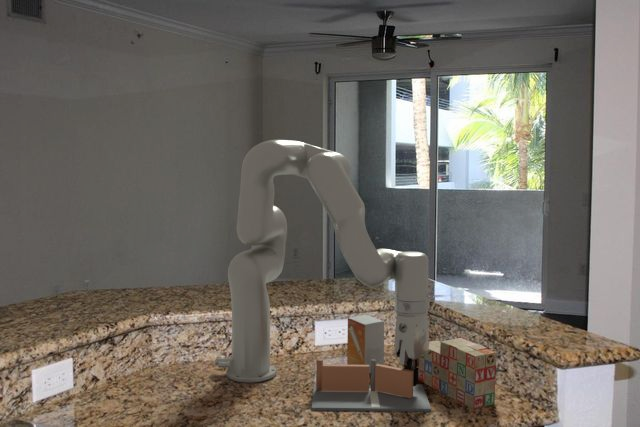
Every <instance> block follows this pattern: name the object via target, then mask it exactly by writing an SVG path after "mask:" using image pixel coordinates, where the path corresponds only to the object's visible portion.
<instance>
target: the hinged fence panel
mask: <svg viewBox="0 0 640 427" xmlns="http://www.w3.org/2000/svg"><path fill="white" fill-rule="evenodd" d="M370 384H371V391H379V392H384V393H389V394H393V395H398V396H402V397H407V398H412V397H413V371H412V370H407V369H403V368H402V367H401V368H400V367H396V366H391V365H385V364H384V365H381V364H377V365H376V360H374V359H372V360H371V373H370Z"/></svg>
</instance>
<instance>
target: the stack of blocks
mask: <svg viewBox="0 0 640 427" xmlns="http://www.w3.org/2000/svg"><path fill="white" fill-rule="evenodd" d="M417 368H419V369H418V381H420V382H422V383H424V384H425V385H427V386H428V385H429V387H431V388H432V389H434V390H436V391H438V392H440V393H442V394H444V395H446V396H448V397H449V398H452V399H453V400H455V401H457V402H459V403H460V404H463V405H464V406H467V407H468V408H470V409H472V410H477V409H480V408H484V407H488V406H492V405H495V404H496V403H495V400H496V376H497V352H496V351H495V350H492V349H489V348H487V347H486V346H483V345H481V344H478V343H476V342H473V341H470V340H467V339H464V338H462V337H458V338H453V339H447V340H441V341H439V340H431V341H430V340H429V349H428V351H427V352H425V353H424V354H423V355H421V356H420V359H419V367H417Z"/></svg>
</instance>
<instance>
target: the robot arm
mask: <svg viewBox="0 0 640 427" xmlns="http://www.w3.org/2000/svg"><path fill="white" fill-rule="evenodd" d="M351 169H352V168H351V164H350V162H349V160H348V159H347V157H346V156H345V155H343V154H342V153H339V152H337V151H333V150H329V149H325V148H324V147H322V148H321V147H319V146H315V145H312V144H309V143H306V142H302V141H300V140H299V141H298V140H290V139H271V140H265V141H262V142H260V143H258V144H256V145H254V146H253V147H252V148H250V150H249V151H248V152H247V153H246V155H245V156H244V158H243V161H242V164H241V170H240V172H241V173H240V186H239V187H240V189H239V197H238V207H237V210H238V211H237V220H236V234H237V238H238V239H239V241H241V243H242V244H244V245H247V246H251V248H250V249H247V250H244V251H241V252H239V253H237V254H236V255H235V256H234V257H233V258H232V259H231V261H230V262H229V265H228V267H227V278H228V279H227V280H228V285H229V290H230V299H231V300H230V301H231V345H232V346H231V352H232V355H231V356H228V357H225V358H224V357H215V358H214V359H215V361H214V363H215V366H218V368H227V369H226V372H225V373H226V374H225V376H226V377H227V378H228V379H229V380H232V381H235V382H239V383H259V382H260V383H261V382H264V381H268V380H271V379H272V378H274V377H275V376H276V375H277V368H276V367H275V366H274V365H273V364H271V312H270V311H271V310H270V309H271V305H270V297H269V293H268V290H267V284H268V283H271V282H273V281H275V280H276V279H277V278H278V277H279V276H280V274H282V271H283V268H284V264H285V256H286V244H287V243H286V242H287V238H288V236H287V235H288V223H287V218H286V216H285V214H284V212H283V210H281V209H280V208H279V207H277V206H276V205H274V204H275V203H274V202H275V200H274V199H275V197H276V196H275V195H276V194H275V184H274V178H275V177H276V176H283V175H285V176H287V175H294V176H297V177H301V178H304V179H307V181H308V182H309V184H310V186H311V187H312V189H313V190H314V191H313V192H315V194H316V196H317V197H318V199H319V201H320V203H321V204H322V206H323V208H324V209H325V212H326V213H327V214H328V217H329V218H330V220H331V223H332V224H333V230H334V233H335V237H336V240H337V244H338V247H339V249H340V251H341V254H342V256H343V258H344V260H345V262H346V263H347V265H348V267H349V268H350V270H351V271H352V273H353V275H354V277H355V278H356V280H358V282H360V283H361V284H362V285H364V286H366V287H369V288H376V287H380V286H382V285H383V284H385V283H387V282H388V281H391V280H394V313H395V314H396V317H395V318H396V319H395V326H394V328H395V330H394V355H395V356H396V357H397V358H399V360H398V361H399V363H398V364H399V365H401V369H407V370H412V371H413V386H416V385H417V384H419V380H418V369H419V368H417V367H419V359H420V356H421V355H423V354H424V353H425V352H427V351H428V349H429V342H430V336H429V334H430V332H429V331H430V330H429V319H428V318H429V316H428V313H429V257H428V256H427V254H426V253H424V252H420V251H398V250H394V249H389V248H378V249H377V248H376V246H375V245H374V243H373V242H372V239H371V237H370V235H369V233H368V230H367V226H366V220H365V218H366V217H365V216H366V208H365V203H364V201H363V200H362V198H361V197H360V195H359V193H358V192H357V190H356V188H355V186H354V185H353V182H352V181H351V179H350V176H351V173H352V172H351Z"/></svg>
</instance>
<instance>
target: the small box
mask: <svg viewBox="0 0 640 427" xmlns="http://www.w3.org/2000/svg"><path fill="white" fill-rule="evenodd" d="M346 348H347V349H346V350H347V354H346V355H347V356H346V357H347V358H346V360H347V361H346V362H347V364H346V365H369V374H371V360H372V359H374V360H376V365H377V364H381V365H385V321H384V320H382V319H379V318H377V317H374V316H371V315H368V314H363V315H355V316H350V317H347V347H346Z"/></svg>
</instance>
